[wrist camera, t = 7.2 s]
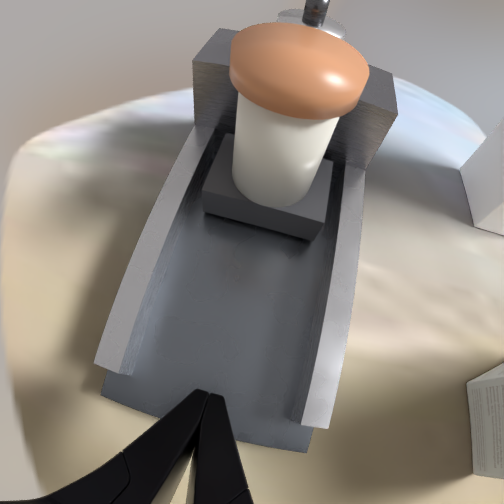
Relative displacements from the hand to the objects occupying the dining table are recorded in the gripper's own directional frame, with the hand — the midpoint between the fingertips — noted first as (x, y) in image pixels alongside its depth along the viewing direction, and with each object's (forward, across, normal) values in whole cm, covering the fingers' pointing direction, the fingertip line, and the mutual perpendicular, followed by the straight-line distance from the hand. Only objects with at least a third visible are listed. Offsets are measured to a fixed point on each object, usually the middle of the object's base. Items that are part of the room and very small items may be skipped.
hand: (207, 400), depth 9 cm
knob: (+11, 0, -4) cm, 12 cm away
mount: (+11, 0, -1) cm, 11 cm away
